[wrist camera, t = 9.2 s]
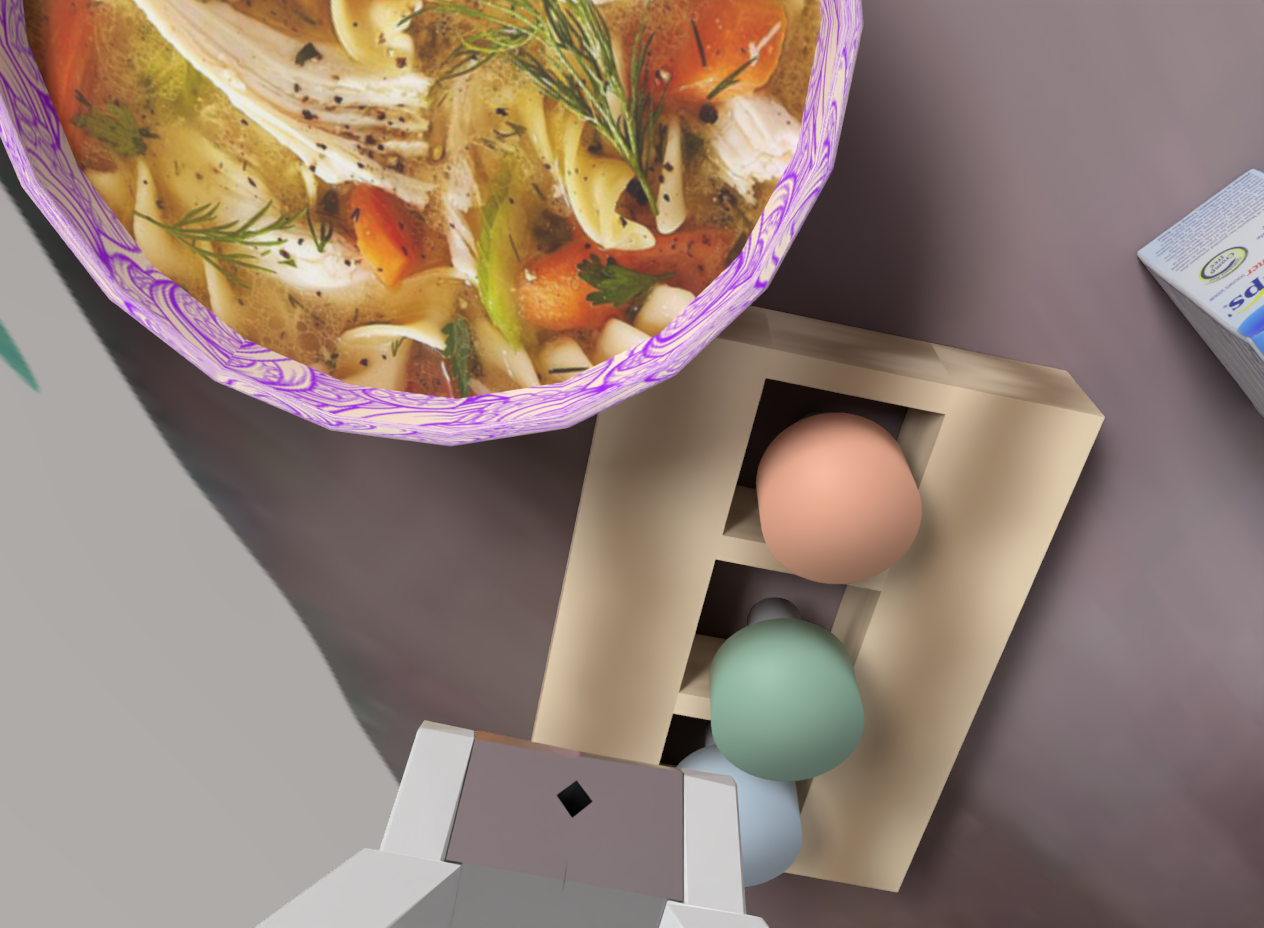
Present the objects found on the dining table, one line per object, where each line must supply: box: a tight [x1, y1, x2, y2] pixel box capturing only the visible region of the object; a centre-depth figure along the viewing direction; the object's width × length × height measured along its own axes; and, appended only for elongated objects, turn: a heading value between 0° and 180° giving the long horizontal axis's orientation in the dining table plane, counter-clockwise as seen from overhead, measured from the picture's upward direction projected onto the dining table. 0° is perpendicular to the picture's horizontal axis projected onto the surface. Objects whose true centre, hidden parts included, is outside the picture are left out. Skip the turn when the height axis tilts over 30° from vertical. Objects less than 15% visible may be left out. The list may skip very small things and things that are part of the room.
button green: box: [709, 598, 864, 782], centre depth 39 cm, size 5×5×6 cm
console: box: [531, 306, 1105, 892], centre depth 42 cm, size 16×22×4 cm
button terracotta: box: [756, 411, 922, 584], centre depth 37 cm, size 5×5×6 cm
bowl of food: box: [0, 0, 864, 446], centre depth 29 cm, size 20×20×12 cm
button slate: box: [676, 720, 803, 887], centre depth 43 cm, size 5×5×6 cm
